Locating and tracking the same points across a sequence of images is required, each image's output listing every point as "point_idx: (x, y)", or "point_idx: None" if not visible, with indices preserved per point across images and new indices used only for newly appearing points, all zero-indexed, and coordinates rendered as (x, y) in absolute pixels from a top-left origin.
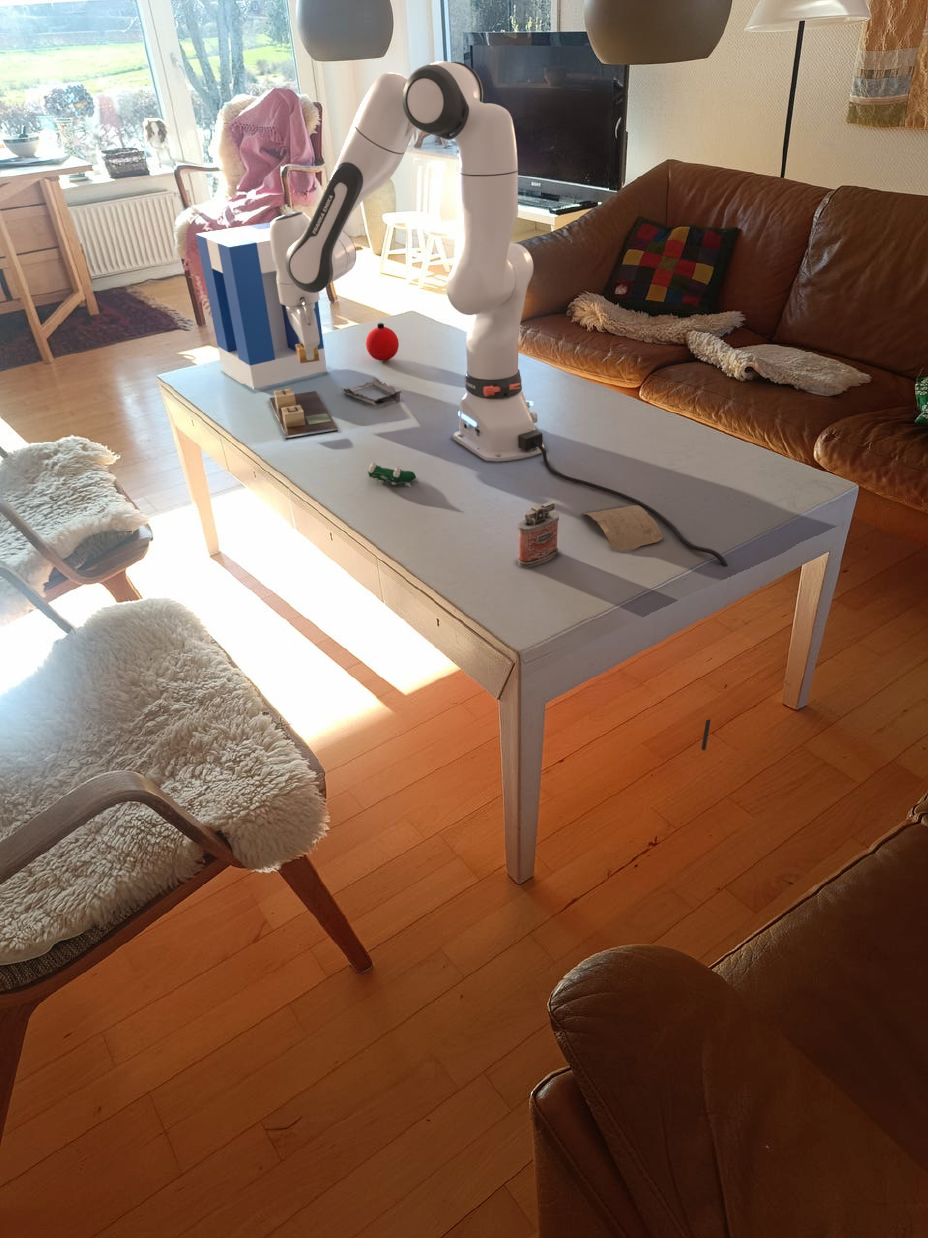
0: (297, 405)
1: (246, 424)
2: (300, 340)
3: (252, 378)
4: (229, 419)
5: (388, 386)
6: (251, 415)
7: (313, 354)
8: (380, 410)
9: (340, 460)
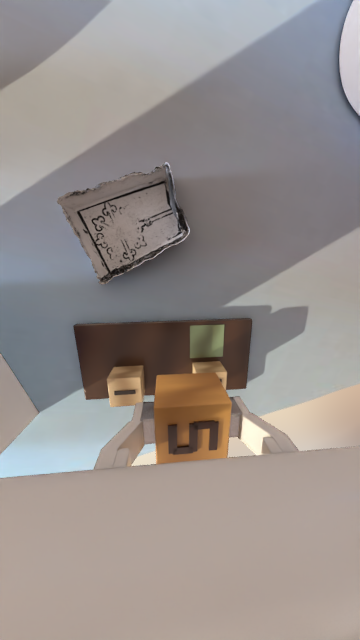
0: (137, 363)
1: None
2: (134, 457)
3: (20, 432)
4: None
5: (120, 180)
6: None
7: (245, 406)
8: (193, 232)
9: (336, 331)
